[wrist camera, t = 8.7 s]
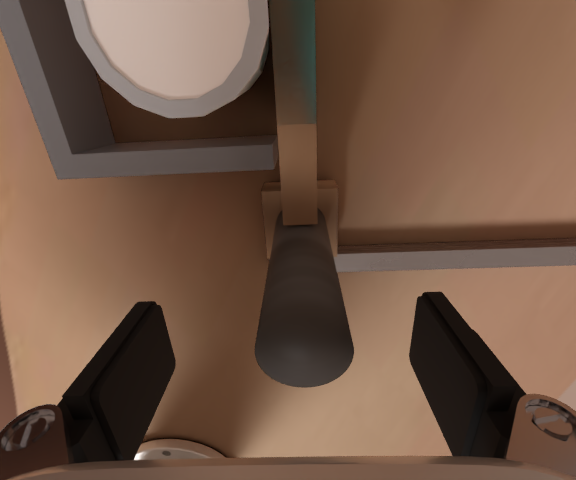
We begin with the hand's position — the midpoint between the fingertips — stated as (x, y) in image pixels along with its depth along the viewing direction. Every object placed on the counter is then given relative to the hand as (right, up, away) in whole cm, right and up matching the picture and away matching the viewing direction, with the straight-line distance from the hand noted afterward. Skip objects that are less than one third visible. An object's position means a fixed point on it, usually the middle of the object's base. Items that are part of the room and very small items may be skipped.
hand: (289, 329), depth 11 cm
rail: (+11, +3, +10) cm, 15 cm away
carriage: (0, +10, +6) cm, 12 cm away
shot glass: (-4, +14, +5) cm, 16 cm away
